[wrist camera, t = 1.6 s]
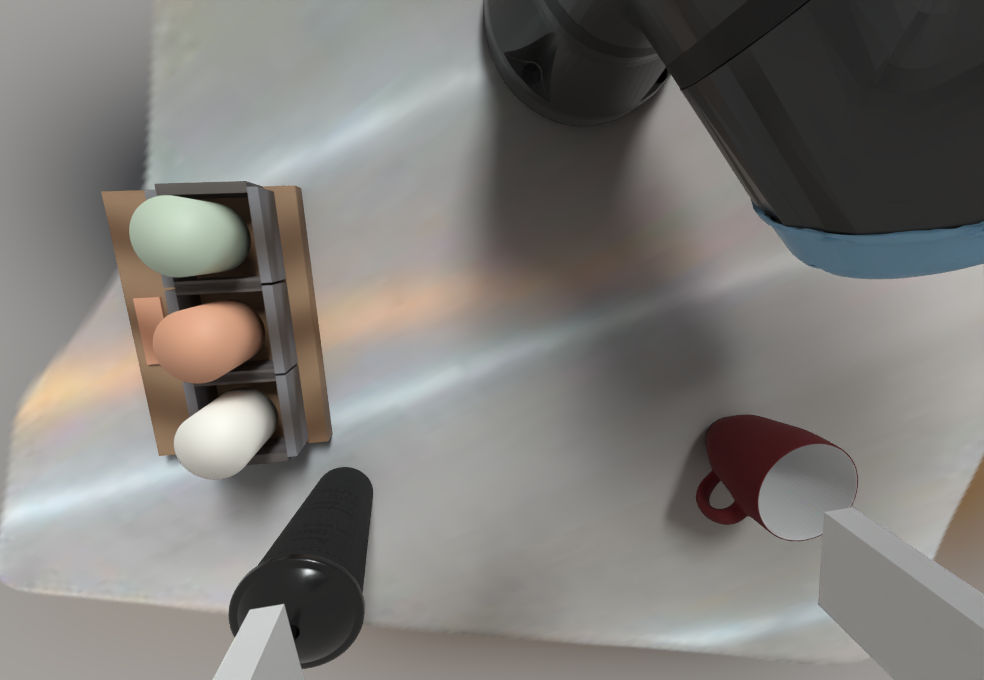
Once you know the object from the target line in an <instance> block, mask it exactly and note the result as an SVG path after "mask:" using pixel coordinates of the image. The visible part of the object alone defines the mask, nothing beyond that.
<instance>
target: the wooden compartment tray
mask: <svg viewBox="0 0 984 680" xmlns="http://www.w3.org/2000/svg"><path fill="white" fill-rule="evenodd" d="M155 189H156V190H138V191H106V192H102V197H103V201H104V206H105V210H106V215H107V219H108V224H109V229H110V233H111V238H112V242H113V247H114V251H115V255H116V261H117V265H118V270H119V274H120V279H121V283H122V288H123V293H124V297H125V302H126V306H127V311H128V315H129V320H130V325H131V329H132V334H133V338H134V343H135V347H136V352H137V357H138V361H139V366H140V370H141V375H142V379H143V384H144V389H145V393H146V398H147V402H148V407H149V411H150V416H151V421H152V425H153V430H154V434H155V439H156V443H157V448H158V452H159V456H164V455H175V450H174V437H175V434H176V432H177V430H178V428H179V427H180V425H181V424H182V423H183V422H184V421H185V420H187V419H188V418H189V417H191V416H192V415H194V414H195V413H197V412H198V411H199V410H201V409H202V408H204V407H205V406H207V405H208V404H210V403H211V402H212V401H214V400H215V399H217V398H218V397H220V396H221V395H222V394H224V393H225V392H227V391H229V390H232V389H235V388H243V387H245V388H252V389H255V390H258V391H260V392H262V393H264V394H265V395H266V396H268V397H269V398H270V399H271V400H272V402H273V403H274V405H275V407H276V409H277V413H278V424H277V428H276V430H275V432H274V433H273V435H272V436H271V437H270V438H269V439H268V440H267V442H266V443H265V444H264V445H263V446H262V447H261V448H260V450H259V451H258V452H257V453H256V454H255V455H254V456H253V458H252V459H251V460H250V461H249V462H248V463H247V464H246V465H251V464H262V463H274V462H285V461H289V460H290V458H291V457H293V456H298V454H299V453H300V451H301V450H302V448H303V447H304V445H305V444H306V443H317V442H328V441H329V439H330V437H331V436H332V427H331V419H330V411H329V404H328V396H327V388H326V380H325V372H324V364H323V357H322V349H321V341H320V333H319V325H318V317H317V310H316V302H315V294H314V286H313V278H312V270H311V263H310V255H309V247H308V239H307V231H306V223H305V216H304V208H303V200H302V192H301V188H299V187H297V186H269V187H263V186H259V185H256V184H253V183H250V182H247V181H237V182H202V183H168V184H155ZM162 195H172V196H178V197H184V198H189V199H195V200H201V201H207V202H212V203H218V204H222V205H225V206H227V207H229V208H231V209H233V210H234V211H235V212H237V213H238V214H239V215H240V216H241V217H242V219H243V220H244V221H245V223H246V225H247V227H248V229H249V232H250V237H251V246H250V251H249V254H248V256H247V257H246V259H245V260H244V261H243V262H242V264H240V265H239V266H238V267H236V268H234V269H232V270H229V271H225V272H217V273H210V274H203V275H195V276H188V277H169V276H166V275H162V274H160V273H158V272H156V271H154V270H152V269H151V268H149V267H148V266H147V265H146V264H144V263H143V262H142V261H141V259H140V258H139V257H138V256H137V254H136V252H135V251H134V249H133V246H132V244H131V240H130V235H129V226H130V221H131V218H132V216H133V213H134V212H135V210H136V209H137V208H138V207H139V206H140V205H141V204H142V203H143V202H145V201H146V200H148V199H150V198H153V197H156V196H162ZM223 299H232V300H237V301H241V302H243V303H245V304H247V305H249V306H250V307H252V308H253V309H254V310H255V311H256V312H257V313H258V315H259V316H260V318H261V319H262V321H263V324H264V328H265V340H264V343H263V346H262V348H261V349H260V351H259V352H258V353H257V354H256V355H255V356H253V357H252V358H250V359H249V360H247V361H245V362H244V363H242V364H241V365H239V366H237V367H236V368H234V369H232V370H231V371H229V372H228V373H226V374H224V375H223V376H221V377H219V378H218V379H216V380H213V381H211V382H207V383H200V384H195V383H188V382H184V381H181V380H179V379H177V378H175V377H173V376H172V375H170V374H169V373H168V372H166V371H165V370H164V369H163V368H162V366H161V365H160V364H159V362H158V360H157V359H156V356H155V354H154V350H153V335H154V332H155V330H156V328H157V326H158V324H159V323H160V322H161V321H162V320H163V319H164V318H165V317H166V316H168V315H170V314H171V313H174V312H176V311H180V310H184V309H188V308H191V307H195V306H199V305H203V304H207V303H210V302H214V301H218V300H223Z"/></svg>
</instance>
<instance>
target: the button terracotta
mask: <svg viewBox="0 0 984 680" xmlns="http://www.w3.org/2000/svg"><path fill="white" fill-rule="evenodd" d="M264 340H265V328H264V324H263V321H262V319H261V318H260V316H259V315H258V313H257V312H256V311H255V310H254V309H253V308H252V307H250V306H249V305H247V304H245V303H243V302H241V301H237V300H232V299H223V300H218V301H214V302H210V303H207V304H203V305H199V306H195V307H191V308H188V309H184V310H180V311H176V312H174V313H171V314H170V315H168V316H166V317H165V318H164V319H163V320H162V321H161V322H160V323H159V324H158V326H157V328H156V330H155V332H154V335H153V350H154V354H155V356H156V359H157V360H158V362H159V364H160V365H161V366H162V368H163V369H164V370H165V371H166V372H168V373H169V374H170V375H172V376H173V377H175V378H177V379H179V380H181V381H184V382H188V383H195V384H200V383H207V382H211V381H213V380H216V379H218V378H219V377H221V376H223V375H224V374H226V373H228V372H229V371H231V370H232V369H234V368H236V367H237V366H239V365H241V364H242V363H244V362H245V361H247V360H249V359H250V358H252V357H253V356H255V355H256V354H257V353H258V352H259V351H260V349H261V348H262V346H263V343H264Z"/></svg>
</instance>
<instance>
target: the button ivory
mask: <svg viewBox="0 0 984 680" xmlns="http://www.w3.org/2000/svg"><path fill="white" fill-rule="evenodd" d="M277 424H278V413H277V409H276V407H275V405H274V403H273V402H272V400H271V399H270V398H269V397H268V396H266V395H265V394H264V393H262V392H260V391H258V390H255V389H252V388H245V387H243V388H235V389H232V390H229V391H227V392H225V393H224V394H222V395H221V396H220V397H218V398H217V399H215V400H214V401H212V402H211V403H210V404H208V405H207V406H205V407H204V408H202V409H201V410H199V411H198V412H197V413H195V414H194V415H192V416H191V417H189V418H188V419H187V420H185V421H184V422H183V423H182V424H181V425H180V427H179V428H178V430H177V432H176V434H175V437H174V450H175V454H176V456H177V458H178V460H179V461H180V463H181V464H182V465H183V466H184V467H185V468H186V469H187V470H188V471H189V472H191V473H193V474H194V475H196V476H199V477H202V478H205V479H213V480H217V479H225V478H228V477H231V476H233V475H235V474H237V473H238V472H240V471H241V470H242V469H243V468H244V467H245V466H246V464H247V463H248V462H249V461H250V460H251V459H252V458H253V456H254V455H255V454H256V453H257V452H258V451H259V450H260V448H261V447H262V446H263V445H264V444H265V443H266V442H267V440H268V439H269V438H270V437H271V436H272V435H273V433H274V432H275V430H276V428H277Z"/></svg>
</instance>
